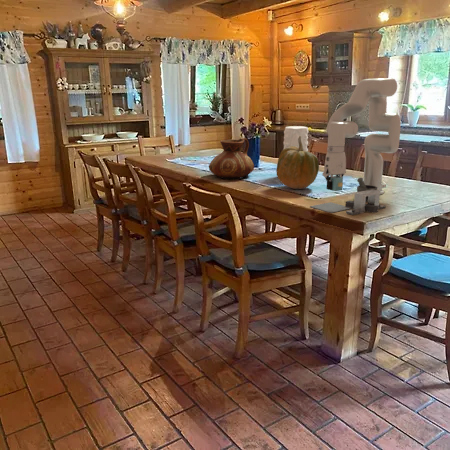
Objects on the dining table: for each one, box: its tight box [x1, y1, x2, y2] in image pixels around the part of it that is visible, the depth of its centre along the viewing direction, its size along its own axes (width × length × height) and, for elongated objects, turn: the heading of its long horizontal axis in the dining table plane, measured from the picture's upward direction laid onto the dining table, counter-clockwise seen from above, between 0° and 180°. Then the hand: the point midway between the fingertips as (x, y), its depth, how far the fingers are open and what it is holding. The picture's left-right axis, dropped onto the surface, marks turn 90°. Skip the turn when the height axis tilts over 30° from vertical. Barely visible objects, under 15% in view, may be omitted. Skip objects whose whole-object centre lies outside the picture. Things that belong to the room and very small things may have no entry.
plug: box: [327, 175, 344, 192], centre depth 206 cm, size 4×6×6 cm
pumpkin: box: [275, 136, 320, 190], centre depth 252 cm, size 23×26×30 cm
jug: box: [208, 137, 255, 180], centre depth 291 cm, size 30×30×25 cm
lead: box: [344, 200, 379, 214], centre depth 209 cm, size 3×16×3 cm, turn 41°
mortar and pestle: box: [356, 177, 377, 203], centre depth 224 cm, size 11×9×12 cm
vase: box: [282, 125, 310, 152], centre depth 289 cm, size 17×16×32 cm
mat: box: [309, 202, 353, 214], centre depth 212 cm, size 14×14×1 cm
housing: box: [345, 189, 386, 216], centre depth 205 cm, size 22×4×9 cm, turn 123°
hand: (333, 188), depth 208 cm, fingers closed on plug, 4 cm apart
